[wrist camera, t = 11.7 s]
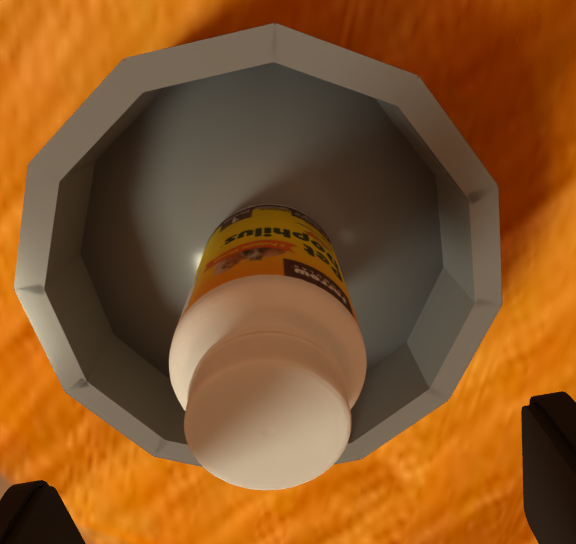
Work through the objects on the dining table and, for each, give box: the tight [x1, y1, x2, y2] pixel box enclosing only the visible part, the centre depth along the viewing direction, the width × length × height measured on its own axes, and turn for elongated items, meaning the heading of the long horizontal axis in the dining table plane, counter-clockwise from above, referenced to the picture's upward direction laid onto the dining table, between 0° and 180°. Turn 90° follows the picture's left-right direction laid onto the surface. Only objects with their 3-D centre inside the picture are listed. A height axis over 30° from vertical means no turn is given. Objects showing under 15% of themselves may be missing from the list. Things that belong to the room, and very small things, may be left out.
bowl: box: [14, 23, 502, 467], centre depth 19 cm, size 17×17×4 cm
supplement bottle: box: [169, 204, 367, 490], centre depth 16 cm, size 6×6×10 cm
